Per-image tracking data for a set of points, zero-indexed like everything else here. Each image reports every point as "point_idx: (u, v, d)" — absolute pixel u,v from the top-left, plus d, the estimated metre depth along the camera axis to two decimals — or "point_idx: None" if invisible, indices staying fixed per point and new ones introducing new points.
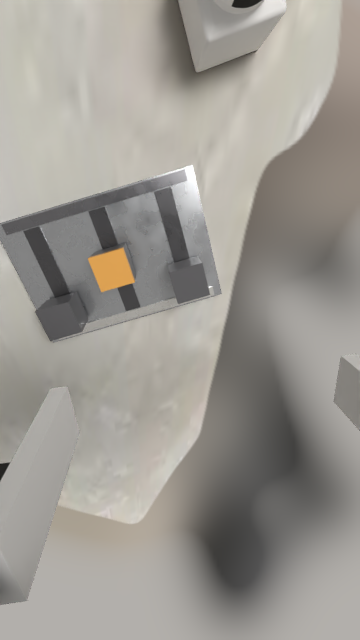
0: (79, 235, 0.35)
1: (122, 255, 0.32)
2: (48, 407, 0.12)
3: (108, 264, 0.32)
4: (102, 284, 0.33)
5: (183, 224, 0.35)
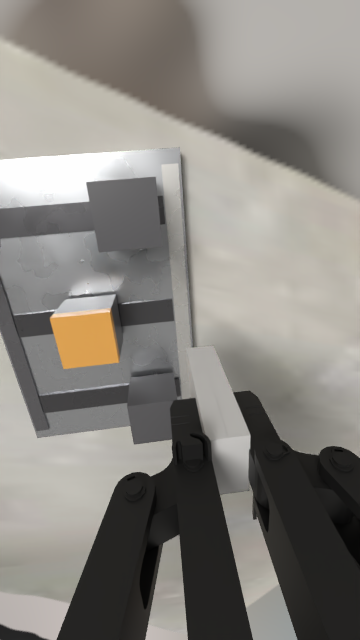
0: (54, 355, 0.25)
1: (61, 321, 0.20)
2: (195, 360, 0.14)
3: (75, 343, 0.20)
4: (106, 358, 0.21)
5: (42, 200, 0.21)
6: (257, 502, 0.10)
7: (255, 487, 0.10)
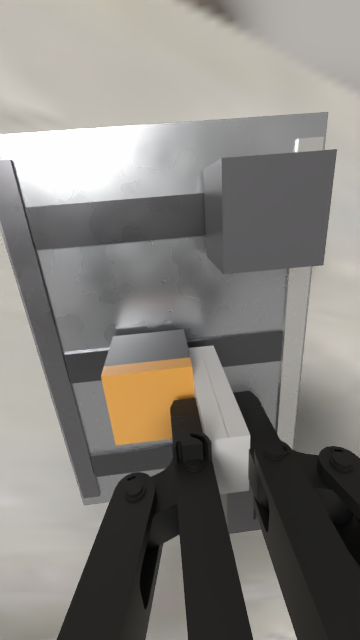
0: None
1: (118, 380, 0.13)
2: (195, 360, 0.14)
3: (135, 411, 0.13)
4: None
5: (118, 193, 0.14)
6: (257, 502, 0.10)
7: (255, 487, 0.10)
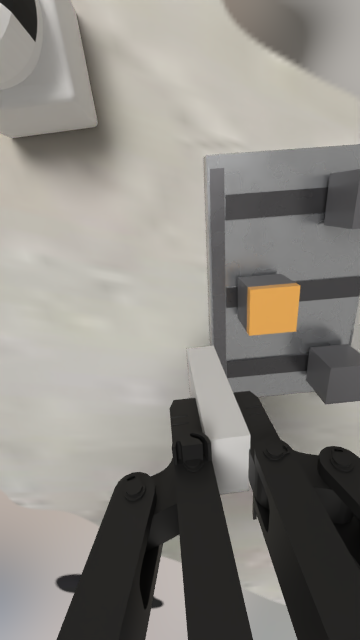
0: None
1: (259, 292, 0.23)
2: (195, 360, 0.14)
3: (264, 313, 0.24)
4: (286, 327, 0.24)
5: (278, 187, 0.24)
6: (257, 502, 0.10)
7: (255, 487, 0.10)
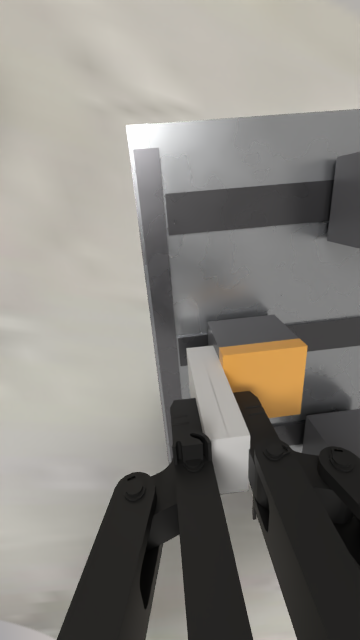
0: None
1: (238, 359, 0.13)
2: (195, 360, 0.14)
3: (248, 390, 0.14)
4: (285, 409, 0.15)
5: (251, 180, 0.15)
6: (257, 502, 0.10)
7: (255, 487, 0.10)
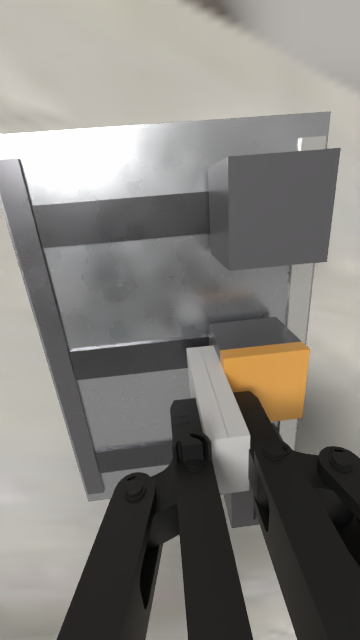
0: (119, 401, 0.19)
1: (239, 362, 0.13)
2: (195, 360, 0.14)
3: None
4: (287, 412, 0.15)
5: (124, 191, 0.14)
6: (257, 502, 0.10)
7: (255, 487, 0.10)
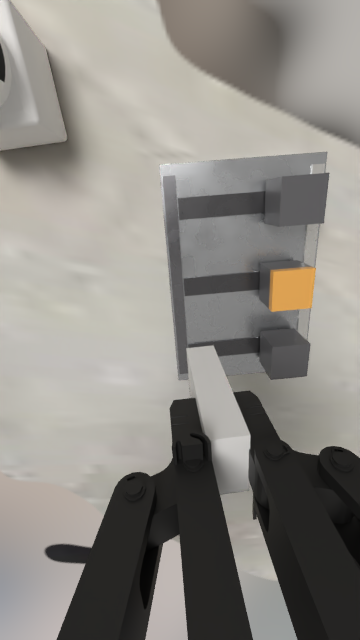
0: (205, 311, 0.33)
1: (281, 274, 0.27)
2: (195, 360, 0.14)
3: (285, 292, 0.28)
4: (303, 304, 0.28)
5: (222, 191, 0.28)
6: (257, 502, 0.10)
7: (255, 487, 0.10)
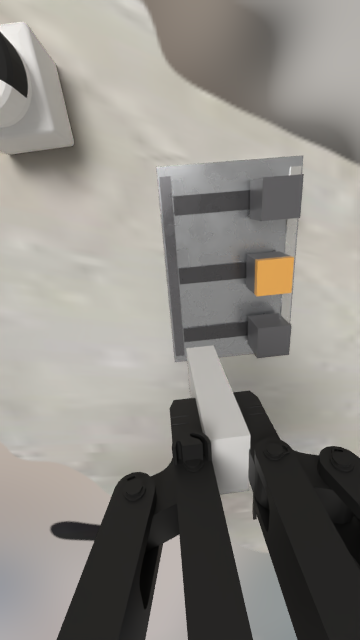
0: (198, 298, 0.37)
1: (264, 262, 0.31)
2: (195, 360, 0.14)
3: (268, 278, 0.32)
4: (284, 289, 0.32)
5: (212, 190, 0.32)
6: (257, 502, 0.10)
7: (255, 487, 0.10)
